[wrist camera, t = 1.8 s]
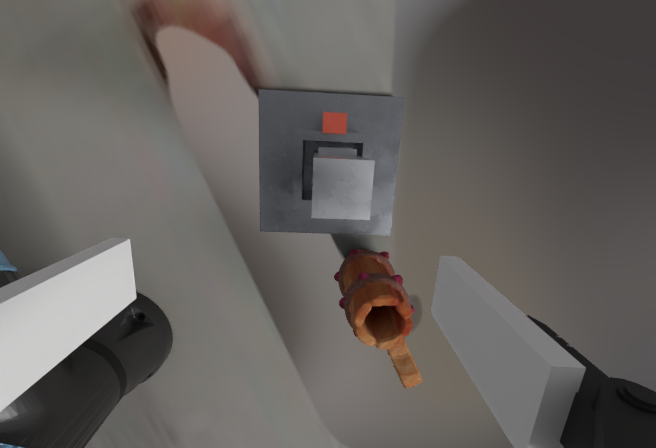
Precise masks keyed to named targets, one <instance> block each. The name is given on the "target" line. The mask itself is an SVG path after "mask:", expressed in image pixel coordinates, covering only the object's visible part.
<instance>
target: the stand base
mask: <svg viewBox="0 0 656 448" xmlns="http://www.w3.org/2000/svg"><path fill="white" fill-rule="evenodd" d="M403 105H404V97H388V96H371V95H353V94H335V93H317V92H299V91H282V90H264V89H259V161H260V162H259V165H260V166H259V167H260V231H268V232H301V233H329V234H360V235H390V233H391V223H392V214H393V204H394V194H395V184H396V174H397V165H398V155H399V145H400V135H401V125H402V114H403ZM318 146H321V147H342V148H349V149H357V155H356V156H360V157H364V158H367V159H371V160H375V165H374V177H373V189H372V201H371V213H370V220H353V219H324V218H311V216H312V186H313V157H314V151H317V148H318Z"/></svg>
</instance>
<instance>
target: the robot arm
mask: <svg viewBox="0 0 656 448" xmlns="http://www.w3.org/2000/svg"><path fill="white" fill-rule="evenodd" d="M17 271H18V270H17V268H16V267H15V266H12V265H11V263H10V262H9V261H8V259H7V258H6V257H5V255H4V254H3V252H2V251H1V250H0V448H84V447H85V446H86V445H87V443H88V442H89V441H90V439H91V438H92V437H93V435H94V434H95V433H96V431H97V430H98V429H99V427H100V426H101V425H102V424H103V422H104V421H105V420H106V418H107V417H108V416H109V414H110V413H111V412H112V410H113V409H114V407H115V406H116V405H117V404H118V402H119V401H120V400H121V398H122V397H123V396H125V395H126V394H127V393H129V392H130V391H131V390H133V389H134V388H135V387H136V386H137V385H138V384H140V383H142V382H144V381H146V380H147V379H149V378H150V377H151V376H152V375H154V374H155V373H156V372H157V371H158V369H159V368H160V367H161V365H162V364H163V363H164V361H165V360H166V358H167V357H168V355H169V353H170V350H171V347H172V339H173V338H172V330H171V326H170V324H169V321H168V319H167V318H166V316H165V314H164V313H163V312H162V310H161V309H160V308H159V307H158V306H157V305H156V304H155V303H153V302H152V301H151V300H149V299H148V298H146V297H144V296H142V295H140V294H138V293H136V289H135V280H134V271H133V263H132V254H131V246H130V239H124V238H110V239H107V240H105V241H103V242H101V243H99V244H96V245H94V246H92V247H90V248H87V249H85V250H83V251H81V252H79V253H76V254H74V255H72V256H70V257H68V258H65V259H63V260H61V261H59V262H57V263H54V264H52V265H50V266H48V267H45V268H43V269H41V270H39V271H37V272H34V273H32V274H30V275H28V276H26V277H23V278H21V279H20V278H19V276H18V274H17ZM431 314H432V316H433V317H434V319H435V320H436V322H437V324H438V325H439V327H440V329H441V330H442V332H443V333H444V335H445V337H446V338H447V340H448V342H449V343H450V345H451V346H452V348H453V350H454V351H455V353H456V355H457V356H458V358H459V359H460V361H461V363H462V364H463V366H464V367H465V369H466V371H467V372H468V374H469V376H470V377H471V379H472V381H473V382H474V384H475V385H476V387H477V389H478V390H479V392H480V394H481V395H482V397H483V398H484V400H485V402H486V403H487V405H488V407H489V408H490V410H491V411H492V413H493V415H494V416H495V418H496V419H497V421H498V423H499V424H500V426H501V428H502V429H503V431H504V432H505V434H506V436H507V437H508V439H509V441H510V442H511V444H512V445H513V447H514V448H559V447H560V444H562V445H563V446H564V448H656V392H654V391H653V390H650V389H648V388H646V387H644V386H642V385H639V384H637V383H634V382H631V381H627V380H625V379H620V378H612V377H610V378H609V377H608V376H607V375H605V374H604V373H603V372H602V371H601V370H599V369H598V368H597V367H596V366H594V365H593V364H592V363H591V362H590V361H588V360H587V359H586V358H585V357H584V356H583V355H581V354H580V353H579V352H578V351H577V350H575V349H574V348H573V347H570V345H569V344H568V343H567V342H566V341H565V340H563V339H562V338H559V335H557V334H556V333H555V332H554V331H553V330H551V329H550V328H549V327H548V326H547V325H545V324H543V323H541V322H540V321H538V320H536V319H534V318H532V317H531V316H529V315H528V316H527V315H525V314H523V313H522V312H521V311H520V310H519V309H517V308H516V307H515V306H514V305H513V304H512V303H511V302H510V301H508V300H507V299H506V298H505V297H504V296H502V294H500V293H499V292H498V291H497V290H496V289H495V288H493V287H492V286H491V285H490V284H489V283H488V282H487V281H485V280H484V279H483V278H482V277H481V276H480V275H478V274H477V273H476V272H475V271H474V270H473V269H472V268H470V267H469V266H468V265H467V264H466V263H465V262H463V261H462V260H461V259H460V258H459V257H455V256H454V257H453V256H440V261H439V267H438V273H437V279H436V285H435V290H434V296H433V303H432V308H431Z"/></svg>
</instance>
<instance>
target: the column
mask: <svg viewBox="0 0 656 448" xmlns="http://www.w3.org/2000/svg"><path fill="white" fill-rule="evenodd" d="M356 155H357V149H349V148H342V147H321V146H318V148H317V151H314V157H313V186H312V216H311V218H324V219H353V220H370V213H371V201H372V189H373V177H374V165H375V160H371V159H367V158H364V157H360V156H356Z"/></svg>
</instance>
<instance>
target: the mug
mask: <svg viewBox="0 0 656 448" xmlns="http://www.w3.org/2000/svg"><path fill="white" fill-rule="evenodd" d="M388 259H389V253H388V252H381V253H377V252H374V251H369V250H365V249H360V250H357V249H352V250H351V251H350V255H349V256H347V258H346V259H345V260H344V261H343V263H342V265H341V267H340V270H339V272H337V273H336V274H335V276H334V278H335V280H336V281H338V282H339V287H340V290H341V293H342V295H343V296H344V297H343V298H342V299H341V300H340V301H339V305H340V307H341V308H343V309H345V314H346V318H347V320H348V323H349V324H350V326H351V327H352V328H353V332H354V335H355V336H357V337H358V339H359V340H360V341H361V342H363V343H364V344H366V345H368V346H371V345H375V346H376V347H377V348H378V349H387V351H388V355H389V356H390V357H391V360H392V362H393V364H394V368H395V369H396V371H397V373H398V376H399V378H400V380H401V382H402V384H403V386H404V387H405V388H409V387H413V386H415V385H417V384H419V383H421V382H422V377H421V375H420V373H419V371H418V368H417V366H416V364H415V362H414V360H413V357H412V355H411V353H410V351H409V349H408V347H407V344H406V342H405V340H404V338H403V336H408V335H409V333H410V331H411V329H412V324H413V322H412V320H411V315H412V313H413V312H414V310H415V309H414V307H413V306H412V305H411V304H410V299H409V297H408V295H407V293H406V291H405V289H404V288H403V286H402V283H403V279H402V277H401V276H400V275H396V274H395V272H394V269H393V267H392V266H391V264H390V263H389V261H388Z"/></svg>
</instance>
